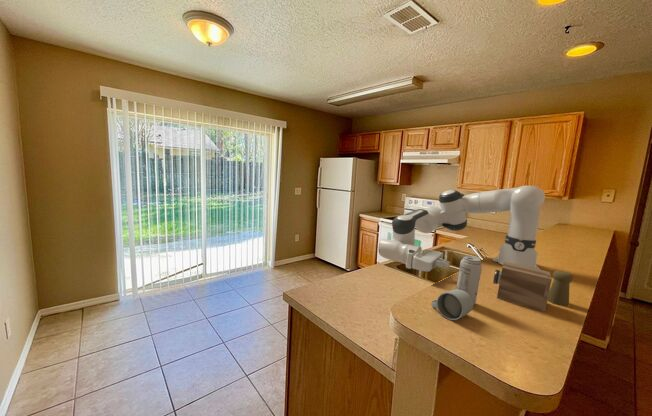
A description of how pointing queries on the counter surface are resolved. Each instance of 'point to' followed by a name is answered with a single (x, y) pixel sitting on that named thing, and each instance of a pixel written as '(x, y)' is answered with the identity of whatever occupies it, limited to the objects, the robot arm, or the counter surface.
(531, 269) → the block
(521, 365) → the counter surface
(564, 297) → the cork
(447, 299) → the ceramic mug
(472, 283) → the energy drink can
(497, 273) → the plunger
